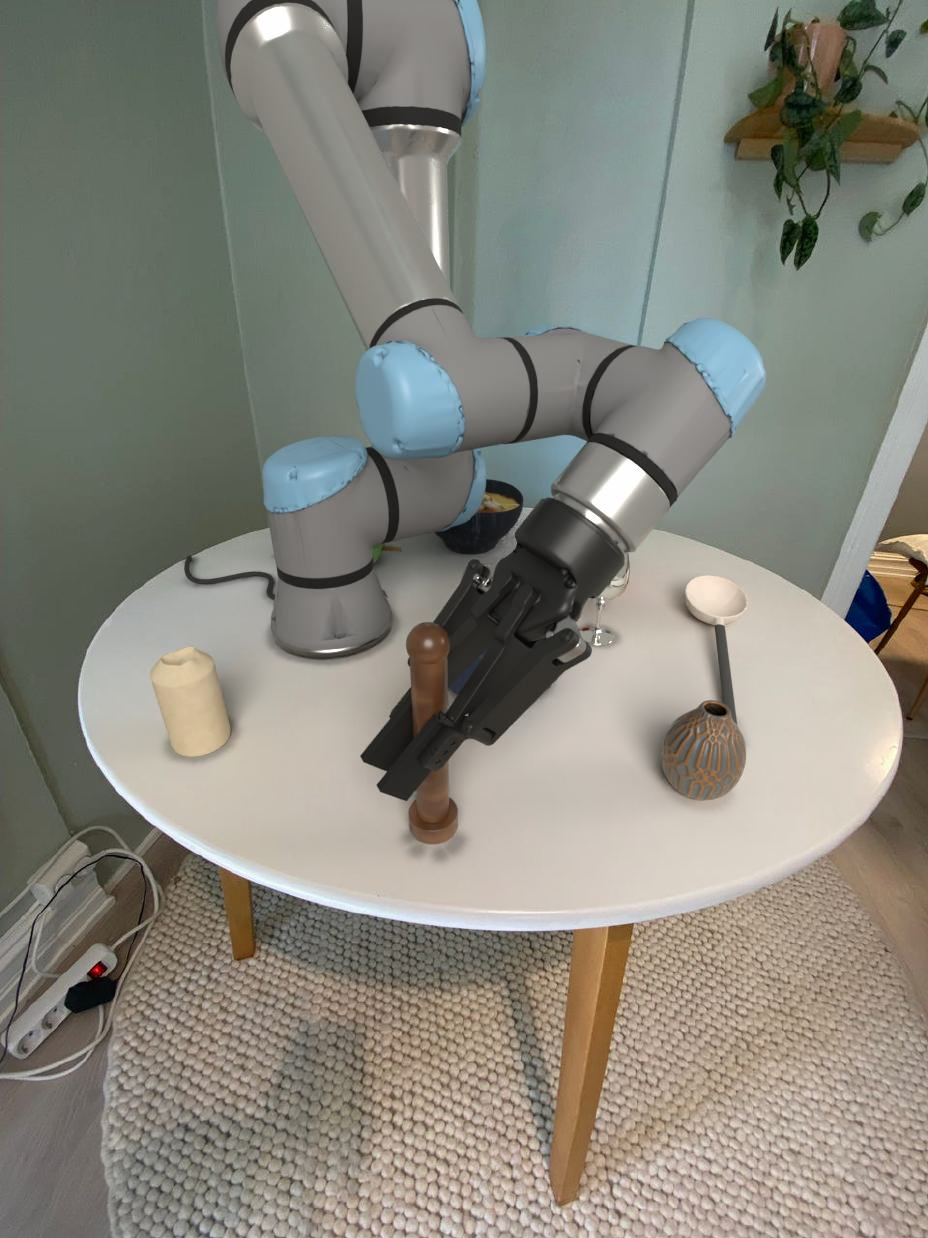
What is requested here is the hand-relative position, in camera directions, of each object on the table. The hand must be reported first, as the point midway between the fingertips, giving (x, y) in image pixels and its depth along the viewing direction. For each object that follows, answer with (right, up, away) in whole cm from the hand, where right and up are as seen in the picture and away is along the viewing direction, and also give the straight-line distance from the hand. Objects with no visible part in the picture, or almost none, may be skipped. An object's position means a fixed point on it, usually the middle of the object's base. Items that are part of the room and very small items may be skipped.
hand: (383, 778), depth 44 cm
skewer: (-14, +21, +53) cm, 59 cm away
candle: (-20, 0, +16) cm, 25 cm away
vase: (+27, -4, +11) cm, 29 cm away
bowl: (+7, +24, +58) cm, 63 cm away
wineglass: (+23, +9, +33) cm, 41 cm away
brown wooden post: (+3, -5, +5) cm, 8 cm away
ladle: (+37, +7, +29) cm, 47 cm away
